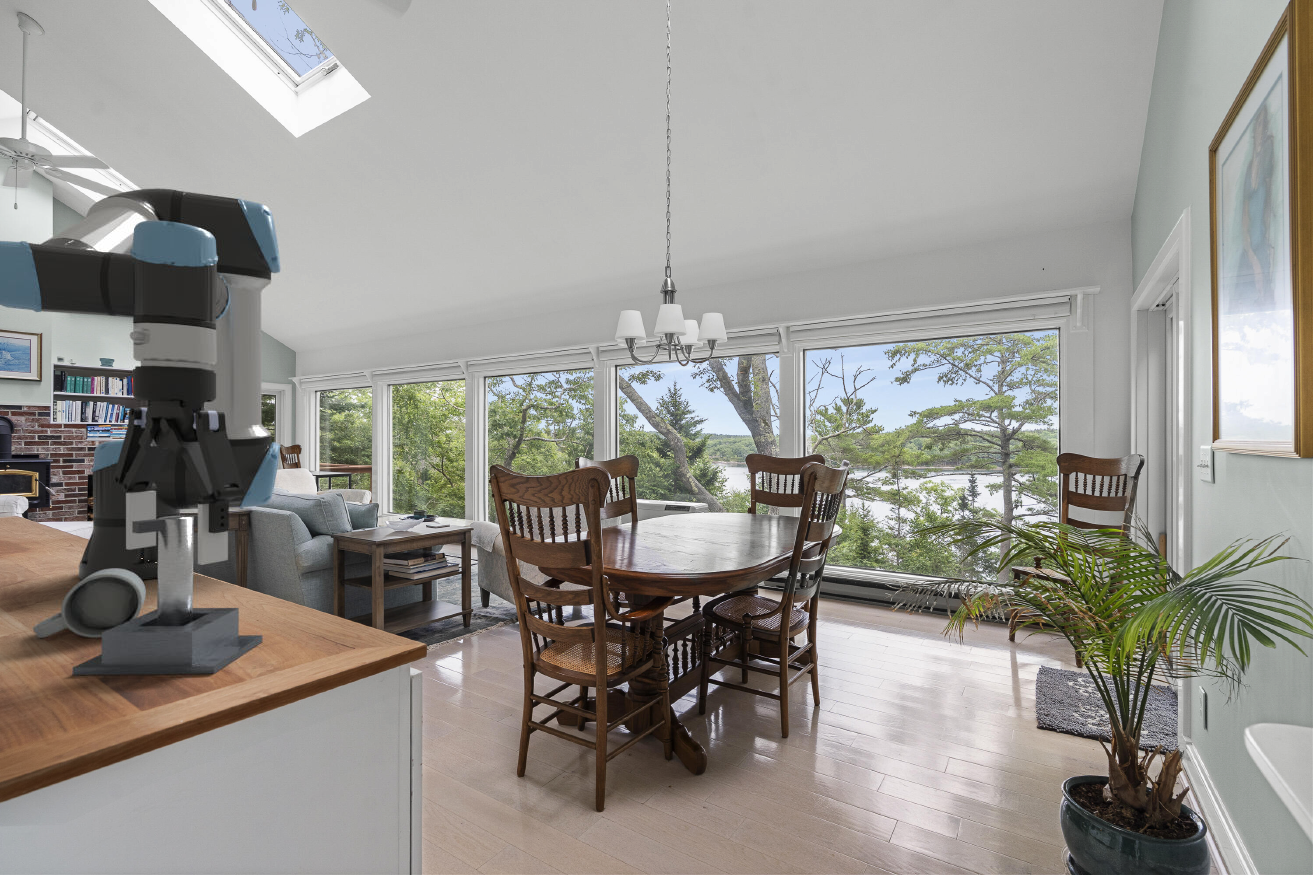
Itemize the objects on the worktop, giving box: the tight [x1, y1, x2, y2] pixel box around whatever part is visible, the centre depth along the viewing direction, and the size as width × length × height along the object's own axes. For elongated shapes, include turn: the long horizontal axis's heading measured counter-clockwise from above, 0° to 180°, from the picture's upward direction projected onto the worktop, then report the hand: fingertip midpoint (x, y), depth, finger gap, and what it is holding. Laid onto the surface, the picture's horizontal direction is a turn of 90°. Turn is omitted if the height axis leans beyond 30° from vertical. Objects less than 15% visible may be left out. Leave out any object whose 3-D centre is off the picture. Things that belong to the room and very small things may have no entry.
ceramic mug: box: [32, 568, 147, 639], centre depth 82 cm, size 11×8×8 cm
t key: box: [132, 514, 198, 626], centre depth 74 cm, size 8×3×15 cm, turn 155°
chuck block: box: [71, 607, 263, 676], centre depth 74 cm, size 10×14×4 cm
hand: (175, 554), depth 74 cm, fingers open, 13 cm apart
